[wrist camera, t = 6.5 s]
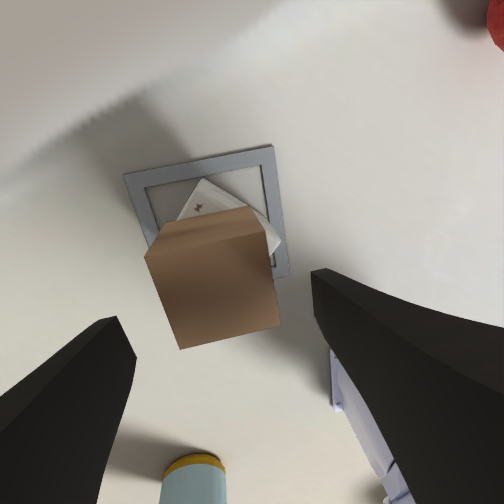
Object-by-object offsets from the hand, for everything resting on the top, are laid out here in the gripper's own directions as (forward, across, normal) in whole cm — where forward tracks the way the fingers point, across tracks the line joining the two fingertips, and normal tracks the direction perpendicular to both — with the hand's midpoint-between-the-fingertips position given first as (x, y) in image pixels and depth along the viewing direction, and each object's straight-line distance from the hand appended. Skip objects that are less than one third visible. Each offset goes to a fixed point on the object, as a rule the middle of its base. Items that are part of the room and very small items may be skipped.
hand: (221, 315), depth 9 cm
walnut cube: (+5, 0, 0) cm, 5 cm away
